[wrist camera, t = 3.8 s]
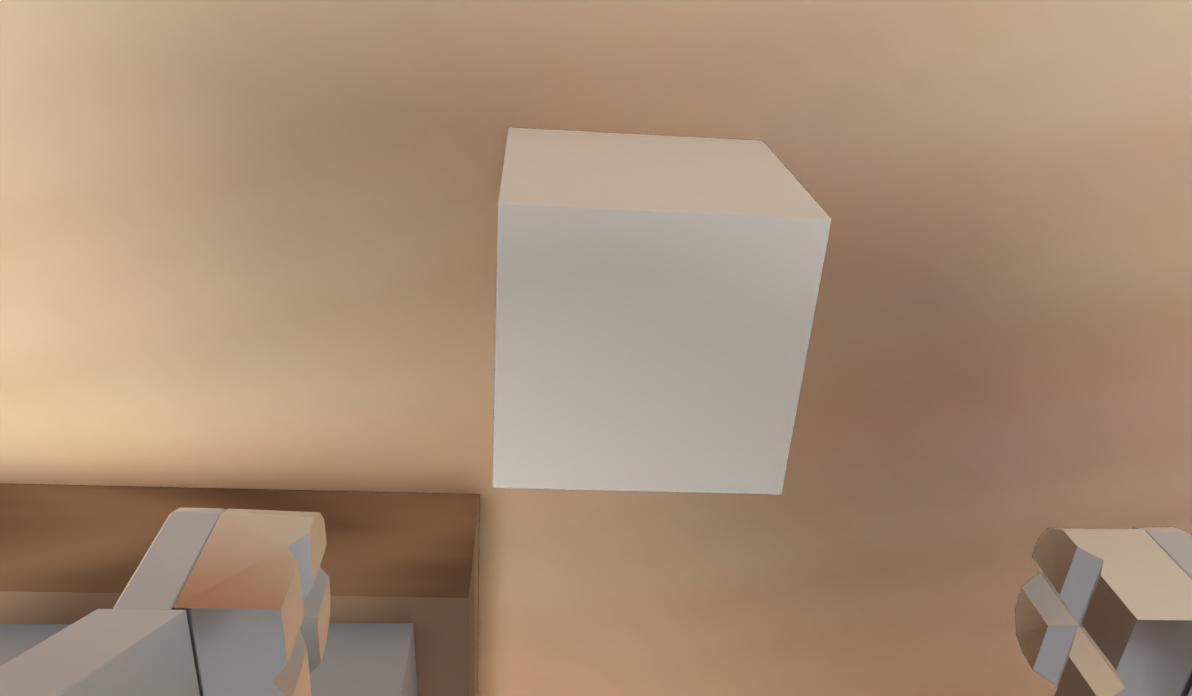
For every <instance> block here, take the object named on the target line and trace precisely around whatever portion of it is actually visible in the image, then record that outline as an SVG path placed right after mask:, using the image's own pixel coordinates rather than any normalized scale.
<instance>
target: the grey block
mask: <svg viewBox="0 0 1192 696" xmlns="http://www.w3.org/2000/svg"><path fill="white" fill-rule="evenodd" d="M70 625H71V624H0V666H2V665H4V664H5V663H7V662H9V661H10V660H12V659H14V658H15V657H17V656H19V655H21V654H22V653H24V652H26V651H27V650H29V649H31V648H32V647H34V646H36V645H37V644H39V643H41V642H43V641H44V640H46V639H48V638H49V637H51V636H53V635H54V634H56V633H58V632H59V631H61V630H63V629H64V628H66V627H68V626H70ZM310 685H311V696H417V678H416V660H415V642H414V624H413V623H349V624H329V627H328V635H327V642H326V646H325V650H324V654H323V658H322V661H321V664H320V665H319V666H318V667H317V668H315V669H314V670H313V671H312V672H311V673H310Z"/></svg>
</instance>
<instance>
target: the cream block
mask: <svg viewBox="0 0 1192 696" xmlns="http://www.w3.org/2000/svg"><path fill="white" fill-rule="evenodd" d="M831 220H832V219H831V218H830V217H829V216H828V215H827V213H826V212H825V211H824V210H823V209H822V208H821V207H820V206H819V204H818V203H817V202H816V201H815V200H814V199H813V198H812V196H811V195H810V194H809V193H808V192H807V191H806V190H805V189H804V187H803V186H802V185H801V184H800V183H799V182H798V181H797V180H796V178H795V177H794V176H793V175H792V174H791V173H790V172H789V170H788V169H787V168H786V167H785V166H784V165H783V164H782V163H781V161H780V160H779V159H778V158H777V157H776V156H775V155H774V153H773V152H772V151H771V150H770V149H769V148H768V147H767V146H766V144H765V143H764V142H763V141H759V140H740V139H721V138H701V137H682V136H663V135H644V134H625V133H606V132H587V131H568V130H549V129H530V128H511V127H509V128H508V136H507V143H506V150H505V157H504V164H503V171H502V178H501V185H500V193H499V200H498V226H497V279H496V333H495V387H494V441H493V488H525V489H568V490H611V491H654V492H697V493H740V494H782V488H783V483H784V477H785V472H786V466H787V461H788V455H789V450H790V444H791V439H792V434H793V428H794V423H795V417H796V412H797V406H798V401H799V395H800V390H801V384H802V379H803V373H804V368H805V362H806V357H807V351H808V346H809V341H810V335H811V330H812V324H813V319H814V313H815V308H816V302H817V297H818V291H819V286H820V280H821V275H822V269H823V264H824V258H825V253H826V247H827V242H828V237H829V231H830V226H831Z"/></svg>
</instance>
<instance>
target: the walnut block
mask: <svg viewBox="0 0 1192 696" xmlns="http://www.w3.org/2000/svg"><path fill="white" fill-rule="evenodd" d="M479 498H480V494H445V493H401V492H356V491H312V490H267V489H223V488H178V487H134V486H89V485H44V484H0V624H73V623H75V622H76V621H78V620H80V619H81V618H83V617H85V616H86V615H88V614H90V613H92V612H93V611H95V610H97V609H113V607H114V606H115V604H116V602H117V601H118V599H119V597H120V596H121V594H122V592H123V591H124V589H125V587H126V586H127V584H128V582H129V581H130V579H131V577H132V576H133V574H134V572H135V571H136V569H137V567H138V566H139V564H140V562H141V561H142V559H143V557H144V556H145V554H146V552H147V551H148V549H149V547H150V546H151V544H152V542H153V541H154V539H155V537H156V536H157V534H158V532H159V531H160V529H161V527H162V526H163V524H164V522H165V521H166V519H167V517H168V516H169V514H170V513H171V512H173V511H175V510H177V509H178V508H180V507H182V508H222V509H225V510H227V509H251V510H276V511H300V512H320V513H321V515H322V517H323V518H324V523H325V532H326V541H327V545H326V548H325V551H324V555H323V558H322V561H321V564H320V568H321V569H322V570H323V571H324V572H325V573H326V574H327V575H328V576H329V579H330V595H331V596H330V620H329V624H349V623H413V624H414V642H415V660H416V678H417V696H478V600H479Z"/></svg>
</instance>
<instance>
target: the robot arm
mask: <svg viewBox="0 0 1192 696" xmlns="http://www.w3.org/2000/svg"><path fill="white" fill-rule="evenodd" d="M326 545H327V541H326V532H325V523H324V518H323V517H322V515H321V513H320V512H300V511H276V510H251V509H227V510H225V509H222V508H182V507H180V508H178V509H177V510H175V511H173V512H171V513H170V514H169V516H168V517H167V519H166V521H165V522H164V524H163V526H162V527H161V529H160V531H159V532H158V534H157V536H156V537H155V539H154V541H153V542H152V544H151V546H150V547H149V549H148V551H147V552H146V554H145V556H144V557H143V559H142V561H141V562H140V564H139V566H138V567H137V569H136V571H135V572H134V574H133V576H132V577H131V579H130V581H129V582H128V584H127V586H126V587H125V589H124V591H123V592H122V594H121V596H120V597H119V599H118V601H117V602H116V604H115V606H114V607H113V609H97V610H95V611H93V612H92V613H90V614H88V615H86V616H85V617H83V618H81V619H80V620H78V621H76V622H75V623H73V624H71V625H70V626H68V627H66V628H64V629H63V630H61V631H59V632H58V633H56V634H54V635H53V636H51V637H49V638H48V639H46V640H44V641H43V642H41V643H39V644H37V645H36V646H34V647H32V648H31V649H29V650H27V651H26V652H24V653H22V654H21V655H19V656H17V657H15V658H14V659H12V660H10V661H9V662H7V663H5V664H4V665H2V666H0V696H311V685H310V673H311V672H312V671H313V670H314V669H315V668H317V667H318V666H319V665H320V664H321V661H322V658H323V654H324V650H325V646H326V642H327V635H328V627H329V620H330V596H331V595H330V579H329V576H328V575H327V574H326V573H325V572H324V571H323V570H322V569H321V568H320V564H321V561H322V558H323V555H324V551H325V548H326ZM1032 558H1033V560H1034V562H1035V564H1036V566H1037V568H1038V570H1039V573H1038V574H1037V575H1035V576H1034V577H1033V578H1032V579H1031V580H1030V581H1028V582H1027V583H1026V584H1025V585H1024V586H1022V587H1021V591H1020V594H1019V598H1018V601H1017V605H1016V608H1015V621H1016V635H1017V638H1018V641H1019V644H1020V647H1021V650H1022V653H1023V654H1024V656H1025V658H1026V659H1027V661H1028V663H1029V664H1030V666H1031V668H1032V669H1033V670H1034V671H1035V672H1037V673H1038V674H1040V675H1041V676H1043V677H1044V678H1046V679H1047V680H1049V681H1050V682H1052V683H1053V684H1055V685H1056V687H1055V692H1054V696H1192V535H1191V534H1190V533H1188V532H1185V531H1183V530H1181V529H1178V528H1176V527H1146V528H1132V529H1092V528H1047V529H1046V531H1045V532H1044V533H1043V534H1042V535H1041V536H1040V537H1039V538H1038V541H1037V544H1036V547H1035V549H1034V552H1033V555H1032Z"/></svg>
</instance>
